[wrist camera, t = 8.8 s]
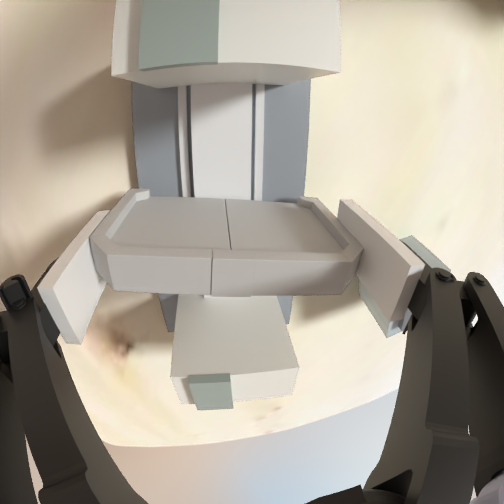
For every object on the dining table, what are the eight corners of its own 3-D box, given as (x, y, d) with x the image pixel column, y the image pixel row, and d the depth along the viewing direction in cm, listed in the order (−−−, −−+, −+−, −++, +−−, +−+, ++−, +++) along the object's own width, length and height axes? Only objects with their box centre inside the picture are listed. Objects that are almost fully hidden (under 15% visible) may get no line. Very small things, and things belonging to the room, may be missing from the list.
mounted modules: (158, 37, 11) (113, -14, 4) (284, 35, 12) (344, -13, 5) (185, 324, 23) (181, 410, 15) (271, 318, 24) (293, 401, 16)
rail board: (136, 32, 11) (129, 26, 10) (306, 29, 13) (315, 23, 11) (169, 325, 24) (167, 338, 22) (287, 317, 25) (290, 330, 24)
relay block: (358, 252, 22) (397, 300, 17) (411, 235, 22) (455, 274, 17) (358, 294, 25) (389, 342, 19) (407, 275, 25) (442, 317, 19)
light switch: (129, 188, 15) (76, 253, 9) (317, 198, 17) (378, 262, 11) (131, 213, 16) (85, 290, 9) (312, 221, 18) (365, 294, 11)
